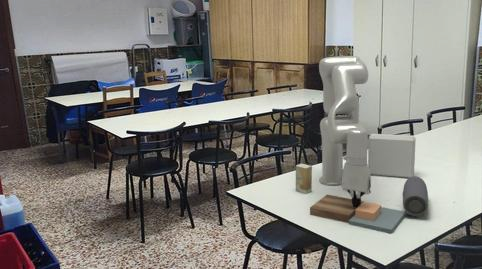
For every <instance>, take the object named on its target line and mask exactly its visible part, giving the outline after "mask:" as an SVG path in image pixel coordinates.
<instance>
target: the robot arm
mask: <svg viewBox="0 0 482 269" xmlns="http://www.w3.org/2000/svg"><path fill="white" fill-rule="evenodd" d="M318 63H319V64H318V69H319V75H320V77H321V81H322V86H323V94H322V95H323V97H322V100H323V101H322V102H323V104H322V106H323V111H324V112H325V113H326V114H327V116H325V117H323V118H322V119H321V120H320V123H319V129H320V135H321V153H322V154H321V156H322V157H321V158H322V159H321V160H322V161H321V167H322V169H321V172H322V173H321V174H322V176H320V177H319V178H318V182H319V183H320V184H322V185H326V186H341V187H342V190H343V191H345V192H347V193H348V194H349V195H350V197H351V199H352V204H353V207H356V208H358V207H359V206H360V205H361V201H362V197H363V196H364V195H370V194H371V192H372V190H371V187H372V179H371V176H372V175H370V168H369V164H368V142H369V136H368V135H369V134H368V130H367V128H366V127H365V126H364V124H363V123H362V124H361V123H360V122H359V121H360V100H359V96H358V95H357V91H356V90H357V88H356V85H364V84H366V83H367V82H368V80H369V71H368V67H367V65H366V64H365V63H364V61H363V60H362V59H361V57H359V56H358V55H357V56H356V55H345V56H344V55H343V56H339V55H338V56H329V57H328V56H327V57H324V58H321V59H320V61H319V62H318ZM337 114H338V115H337ZM339 114H340V115H339ZM343 114H347V115H343ZM343 144H346V155H344V154H343V153H344V152H343V151H344V146H343ZM343 155H344V156H343ZM343 160H344V161H345V162H343Z"/></svg>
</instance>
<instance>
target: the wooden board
mask: <svg viewBox="0 0 482 269" xmlns="http://www.w3.org/2000/svg"><path fill="white" fill-rule="evenodd" d="M363 202H365V201H364V200H361V204H362V203H363ZM356 209H357V208H356V207H353V204H352V198H348V197H342V196H339V195H338V196H337V195H331V194H326V195H324V196H323V197H322V198H320V199H319V200H317V201H316V202H315V203H314V204H312V205H311V206H310V207H309V215H310V216H316V217H320V218H323V219H329V220H332V221H338V222H342V223H347V224H349V220H350V219H351V218H352V217H353V216H354V215H355V210H356Z"/></svg>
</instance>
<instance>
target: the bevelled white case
mask: <svg viewBox="0 0 482 269" xmlns="http://www.w3.org/2000/svg"><path fill="white" fill-rule="evenodd" d="M416 139H417V138H416V137H415V136H414V135H412V134H411V135H409V134H408V135H407V134H386V133H385V134H384V133H371V134H370V135H369V136H368V142H367V164H369V168H370V175H371V176H379V177H380V176H382V177H391V178H392V177H394V178H401V179H402V178H403V179H408V178H410V177H414V176H415V164H416V163H415V160H416V158H415V157H416Z"/></svg>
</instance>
